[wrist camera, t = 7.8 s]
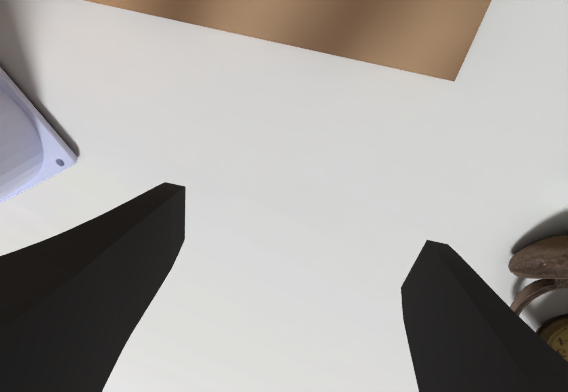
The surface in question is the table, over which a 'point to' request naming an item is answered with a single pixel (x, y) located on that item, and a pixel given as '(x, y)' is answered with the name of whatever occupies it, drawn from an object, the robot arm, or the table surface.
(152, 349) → the table surface
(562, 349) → the brown rounded piece
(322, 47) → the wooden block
